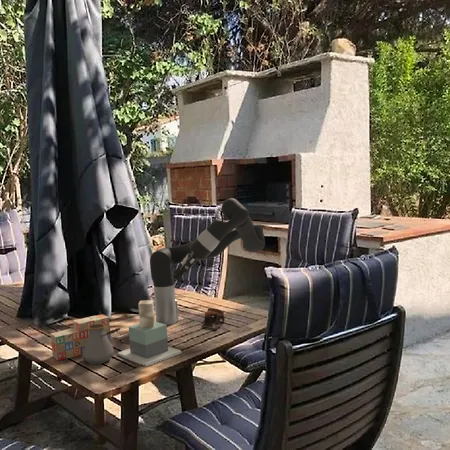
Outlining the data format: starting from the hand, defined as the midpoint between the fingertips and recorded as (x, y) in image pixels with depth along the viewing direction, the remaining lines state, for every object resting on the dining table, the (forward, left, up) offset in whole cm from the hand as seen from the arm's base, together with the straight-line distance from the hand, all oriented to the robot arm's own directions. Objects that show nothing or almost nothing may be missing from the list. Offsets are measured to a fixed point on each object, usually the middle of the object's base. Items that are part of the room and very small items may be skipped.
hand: (175, 276), depth 191 cm
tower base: (+9, -7, -29) cm, 31 cm away
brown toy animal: (-30, -12, -29) cm, 44 cm away
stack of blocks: (+24, -30, -29) cm, 48 cm away
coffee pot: (+24, -12, -29) cm, 40 cm away
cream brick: (+9, -7, -18) cm, 21 cm away
